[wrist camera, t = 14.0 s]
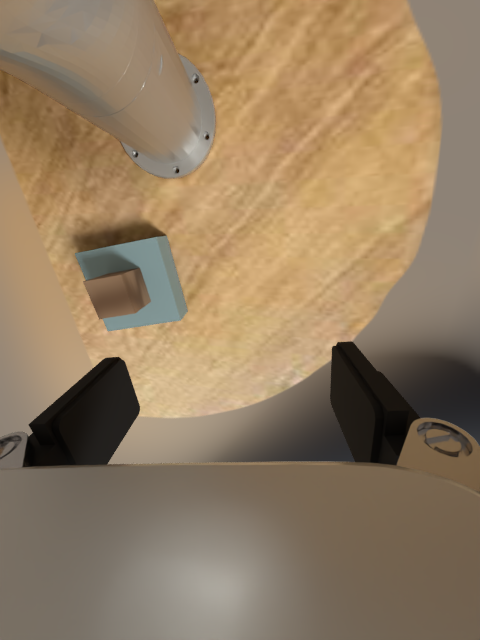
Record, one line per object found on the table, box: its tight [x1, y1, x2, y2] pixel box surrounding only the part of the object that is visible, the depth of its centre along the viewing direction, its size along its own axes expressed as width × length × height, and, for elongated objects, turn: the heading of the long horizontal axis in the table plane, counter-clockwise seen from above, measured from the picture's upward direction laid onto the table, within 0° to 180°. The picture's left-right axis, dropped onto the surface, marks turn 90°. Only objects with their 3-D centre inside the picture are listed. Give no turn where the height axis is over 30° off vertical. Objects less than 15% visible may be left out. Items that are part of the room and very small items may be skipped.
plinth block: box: [75, 236, 188, 331], centre depth 36 cm, size 12×12×4 cm
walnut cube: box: [84, 268, 151, 319], centre depth 32 cm, size 5×5×5 cm
